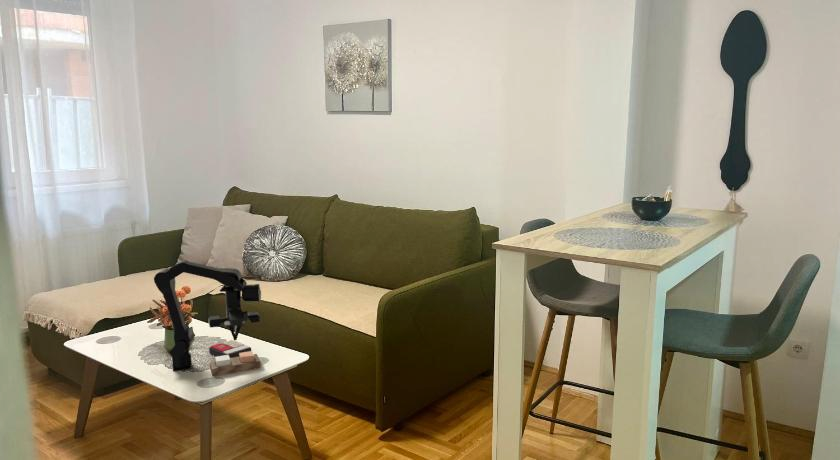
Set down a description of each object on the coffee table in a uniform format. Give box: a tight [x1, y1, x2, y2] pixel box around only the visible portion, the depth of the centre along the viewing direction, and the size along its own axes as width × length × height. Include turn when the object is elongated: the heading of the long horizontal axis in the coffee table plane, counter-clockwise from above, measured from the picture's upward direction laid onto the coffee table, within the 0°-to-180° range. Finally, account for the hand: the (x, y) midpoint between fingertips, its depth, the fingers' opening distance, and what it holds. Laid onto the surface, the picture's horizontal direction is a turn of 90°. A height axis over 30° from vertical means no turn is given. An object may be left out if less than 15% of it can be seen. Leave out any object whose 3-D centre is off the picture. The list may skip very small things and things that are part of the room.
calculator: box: [208, 339, 252, 358], centre depth 255 cm, size 11×4×15 cm
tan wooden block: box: [239, 350, 255, 363], centre depth 242 cm, size 5×5×4 cm
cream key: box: [214, 355, 231, 367], centre depth 239 cm, size 5×5×4 cm
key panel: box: [209, 353, 262, 377], centre depth 241 cm, size 18×8×3 cm, turn 114°
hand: (235, 340), depth 243 cm, fingers closed
